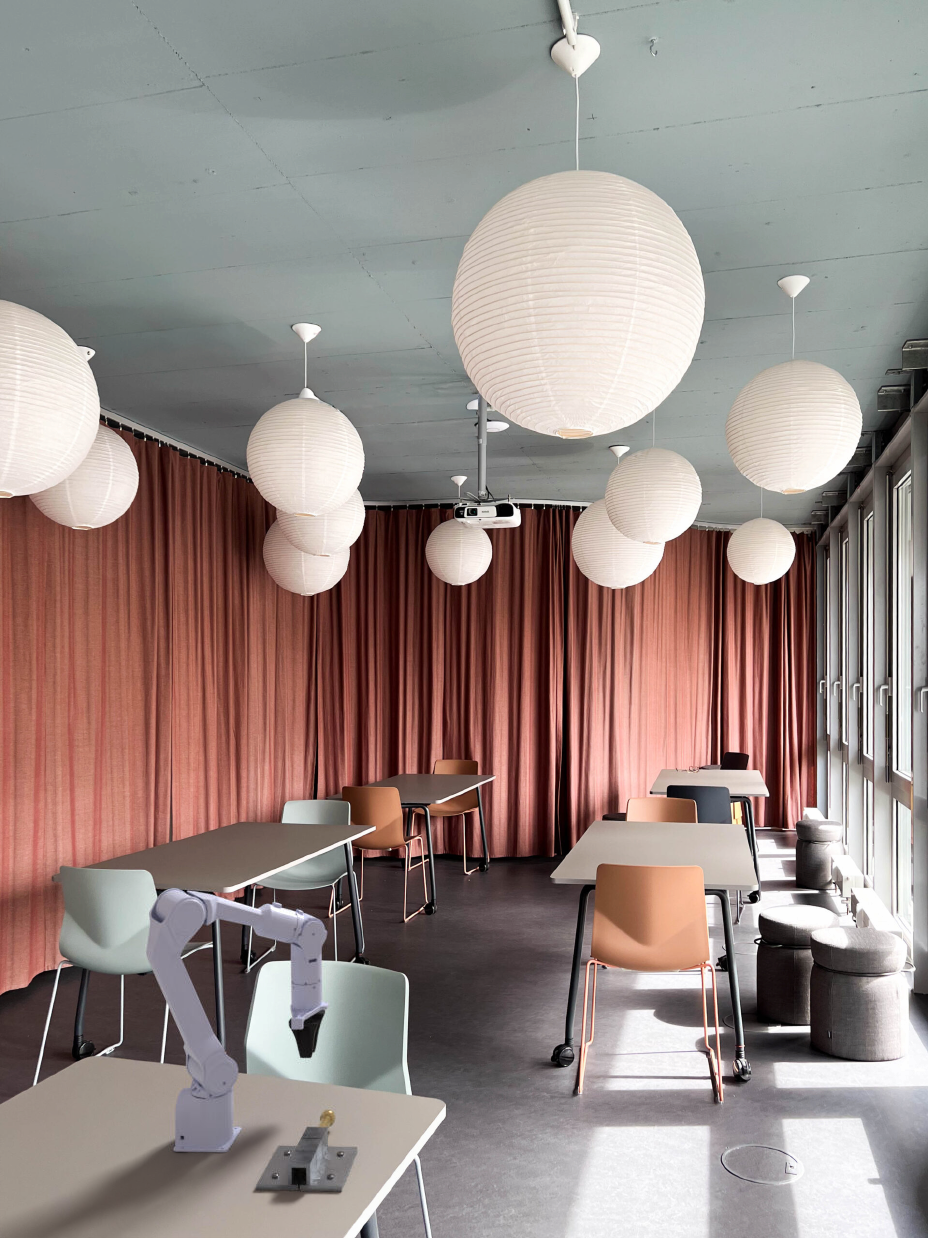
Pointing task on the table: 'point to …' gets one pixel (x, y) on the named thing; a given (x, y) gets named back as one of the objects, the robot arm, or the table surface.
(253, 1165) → the table surface
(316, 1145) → the hinge
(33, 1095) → the table surface
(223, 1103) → the robot arm
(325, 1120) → the pin
